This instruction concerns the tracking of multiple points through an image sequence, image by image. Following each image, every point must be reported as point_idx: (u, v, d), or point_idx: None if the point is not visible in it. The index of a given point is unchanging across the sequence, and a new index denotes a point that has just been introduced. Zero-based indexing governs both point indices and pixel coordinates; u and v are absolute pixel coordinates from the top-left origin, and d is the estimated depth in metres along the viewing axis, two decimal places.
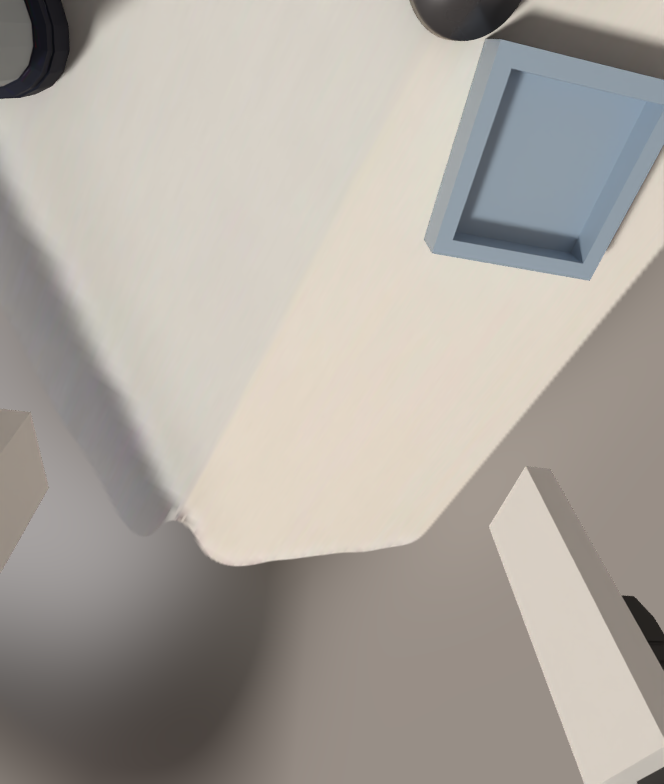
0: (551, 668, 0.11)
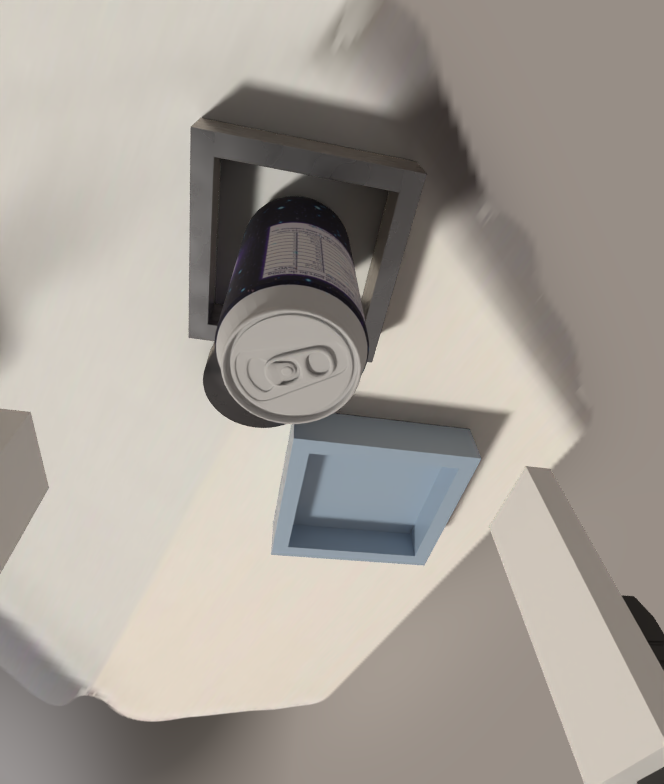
0: (551, 668, 0.11)
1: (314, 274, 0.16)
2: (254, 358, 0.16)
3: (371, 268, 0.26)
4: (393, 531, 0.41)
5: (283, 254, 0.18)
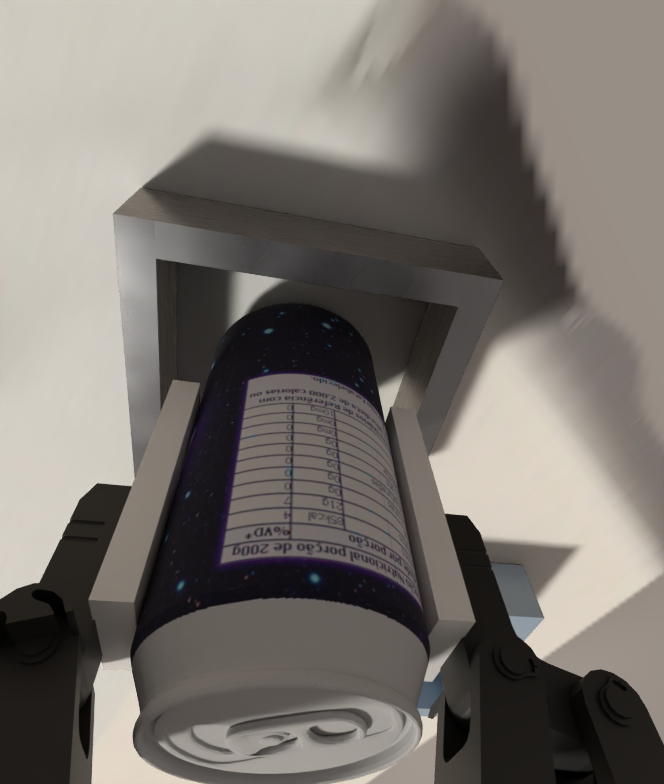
0: None
1: (326, 548, 0.08)
2: (203, 721, 0.08)
3: (403, 391, 0.18)
4: None
5: (266, 476, 0.09)
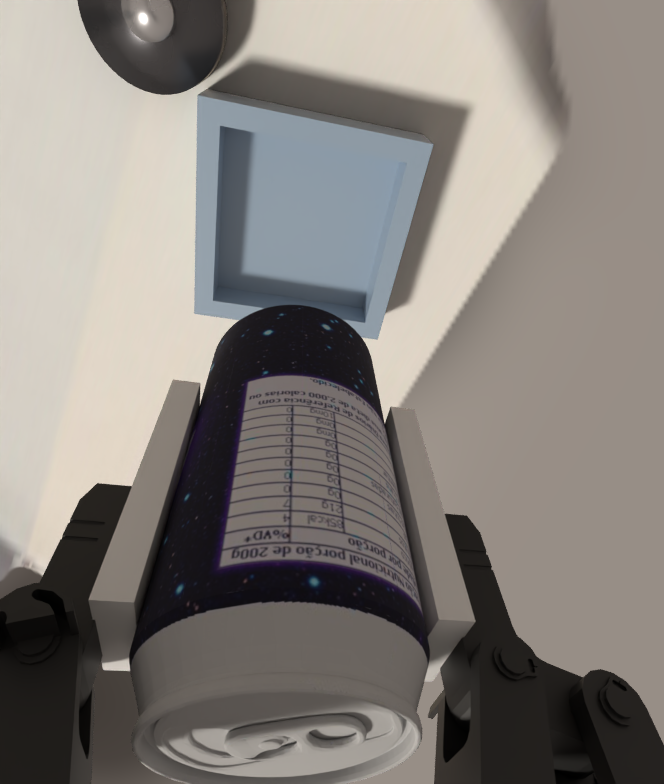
0: None
1: (326, 550, 0.08)
2: (202, 724, 0.08)
3: None
4: (342, 303, 0.35)
5: (265, 479, 0.09)
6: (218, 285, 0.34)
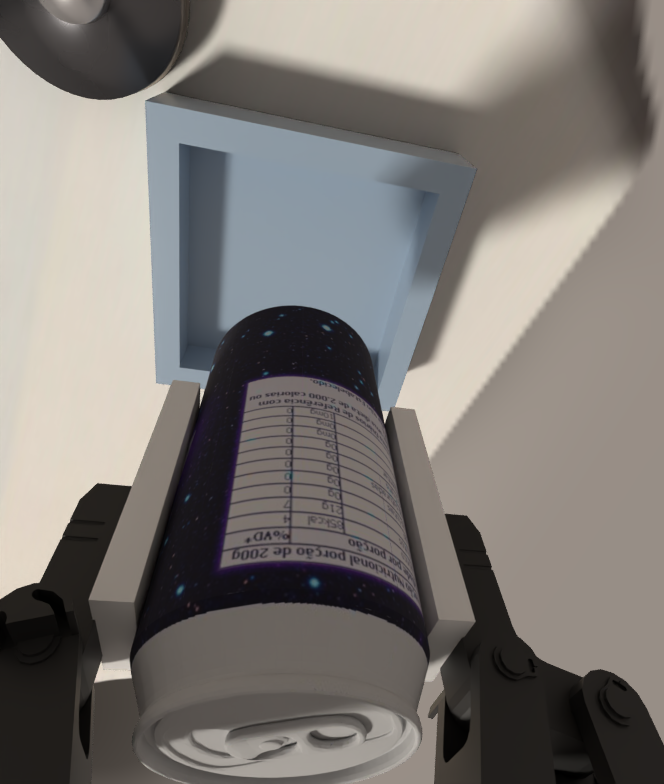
0: None
1: (326, 551, 0.08)
2: (203, 725, 0.08)
3: None
4: None
5: (265, 480, 0.09)
6: (189, 344, 0.26)
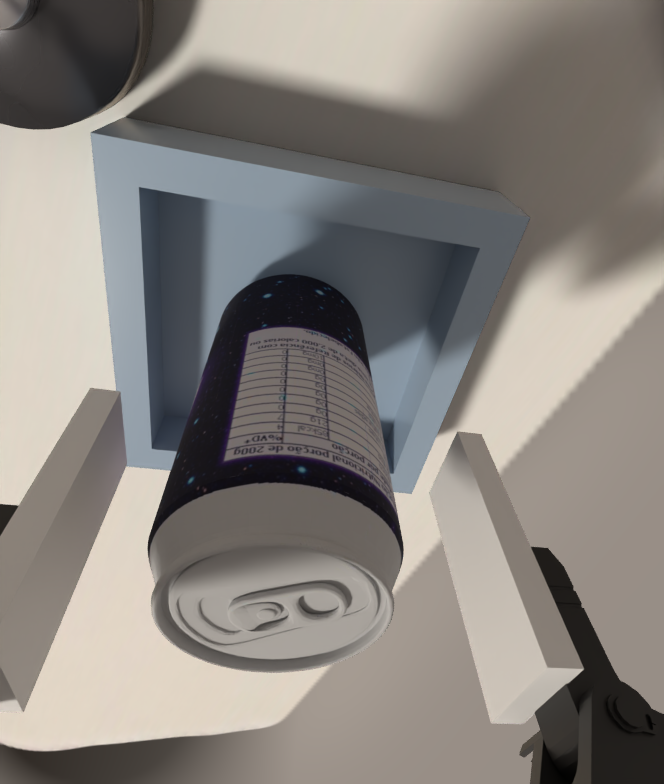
0: (469, 616, 0.12)
1: (312, 450, 0.10)
2: (210, 595, 0.10)
3: None
4: None
5: (262, 401, 0.11)
6: (165, 414, 0.22)
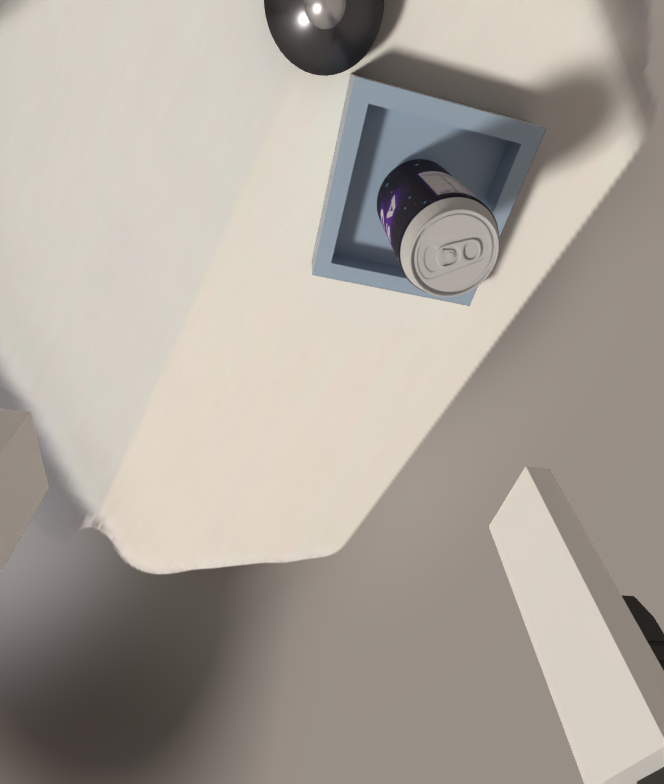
0: (551, 668, 0.11)
1: (469, 194, 0.26)
2: (430, 246, 0.26)
3: None
4: None
5: (441, 184, 0.27)
6: None
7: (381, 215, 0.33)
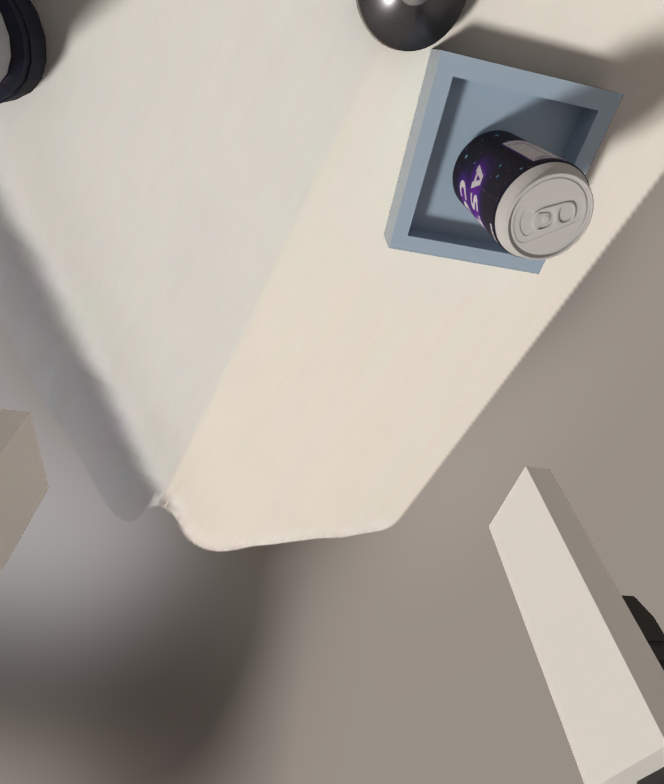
0: (551, 668, 0.11)
1: (562, 159, 0.27)
2: (527, 210, 0.27)
3: None
4: None
5: (533, 151, 0.28)
6: None
7: (461, 186, 0.34)
